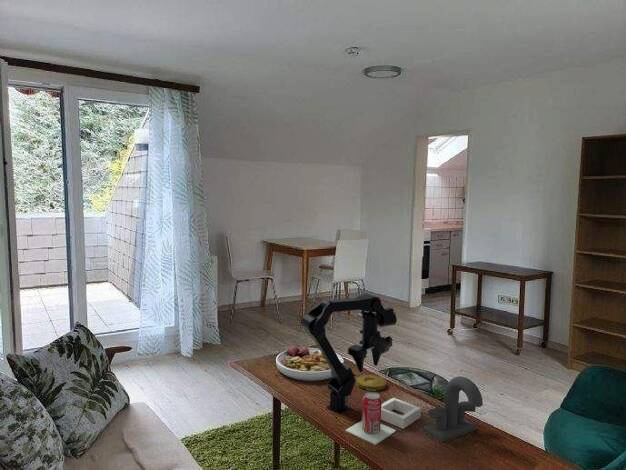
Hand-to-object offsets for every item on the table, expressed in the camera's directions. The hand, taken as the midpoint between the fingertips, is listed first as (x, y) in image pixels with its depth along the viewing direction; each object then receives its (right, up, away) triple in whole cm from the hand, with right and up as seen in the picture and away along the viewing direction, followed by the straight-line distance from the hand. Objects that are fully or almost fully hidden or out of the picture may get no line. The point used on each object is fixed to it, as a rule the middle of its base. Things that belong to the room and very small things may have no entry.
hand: (368, 368), depth 177 cm
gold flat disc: (+3, -12, +17) cm, 21 cm away
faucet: (+27, -16, -21) cm, 38 cm away
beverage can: (-2, -15, -20) cm, 25 cm away
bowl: (-22, -10, +32) cm, 40 cm away
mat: (-2, -15, -20) cm, 25 cm away
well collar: (+9, -14, -10) cm, 20 cm away
